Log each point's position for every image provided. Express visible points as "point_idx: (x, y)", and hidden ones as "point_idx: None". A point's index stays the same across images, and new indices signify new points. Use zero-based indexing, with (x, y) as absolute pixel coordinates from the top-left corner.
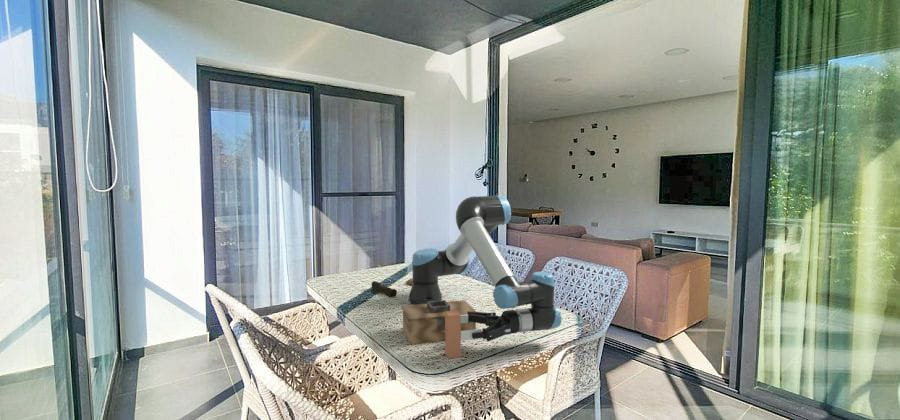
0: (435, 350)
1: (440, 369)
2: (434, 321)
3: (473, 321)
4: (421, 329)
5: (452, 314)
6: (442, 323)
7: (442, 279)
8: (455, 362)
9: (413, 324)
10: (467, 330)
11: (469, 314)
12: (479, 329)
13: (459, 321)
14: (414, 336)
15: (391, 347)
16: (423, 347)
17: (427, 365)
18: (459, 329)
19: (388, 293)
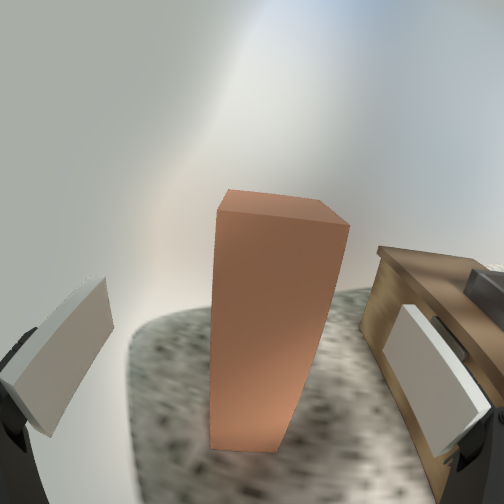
0: (307, 380)
1: (146, 350)
2: (425, 316)
3: (445, 492)
4: (389, 310)
5: (239, 196)
6: None
7: None
8: (167, 409)
9: (384, 274)
10: (78, 303)
11: (497, 424)
12: (14, 367)
13: (215, 276)
14: (371, 315)
15: (337, 297)
16: (337, 353)
17: (193, 333)
18: (211, 337)
19: None
